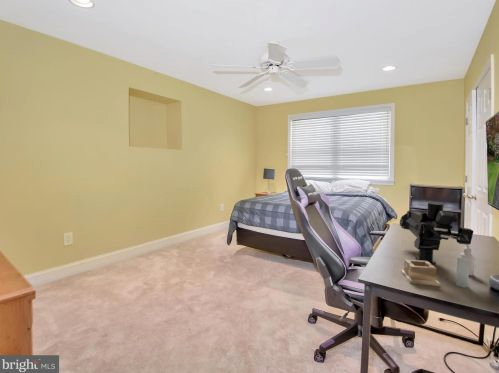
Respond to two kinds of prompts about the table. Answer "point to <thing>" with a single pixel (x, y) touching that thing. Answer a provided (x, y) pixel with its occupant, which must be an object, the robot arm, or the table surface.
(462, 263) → the peg
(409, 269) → the bottle holder
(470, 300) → the table surface
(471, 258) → the eye dropper bottle
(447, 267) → the table surface
